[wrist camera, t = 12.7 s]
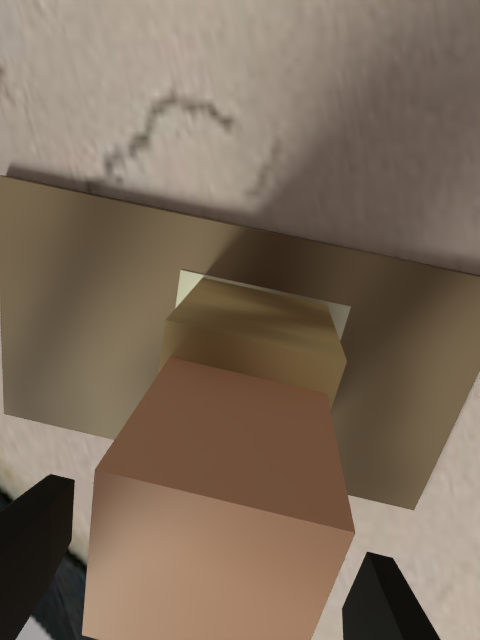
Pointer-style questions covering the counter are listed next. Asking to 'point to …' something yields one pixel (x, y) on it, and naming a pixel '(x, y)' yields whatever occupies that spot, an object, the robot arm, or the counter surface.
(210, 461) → the terracotta cube
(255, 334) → the oak block
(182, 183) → the counter surface
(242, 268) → the brown wooden board
